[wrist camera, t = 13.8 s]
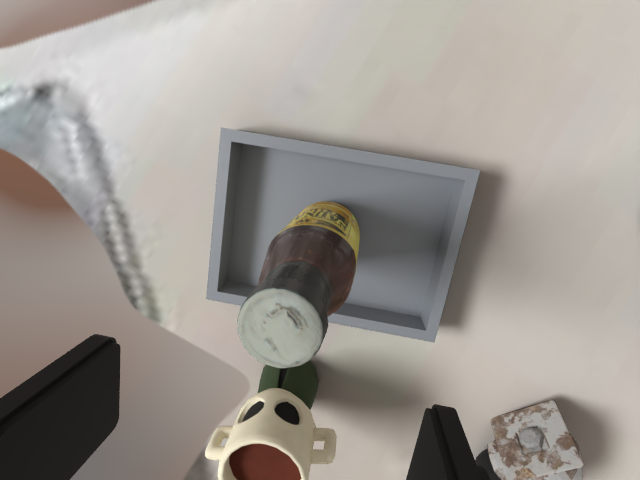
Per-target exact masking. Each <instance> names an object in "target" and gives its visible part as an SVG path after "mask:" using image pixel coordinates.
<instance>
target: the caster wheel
mask: <svg viewBox="0 0 640 480" xmlns="http://www.w3.org/2000/svg"><path fill="white" fill-rule="evenodd" d="M491 424H492V428H493V431H494V435H495V439H496V440H494V441H492V442H491V443H489V444H488V449H486V450H484V451H483V452H481V453H480V454H479V455H478V456H477V458H476V460H475V463H476V464H477V465H482V466H483V467H484V468H485V469H486V471H487V473H488V475H489V478H490V480H583V471H582V466H583V465H584V464H583V462H582V459H581V454H580V450H579V447H578V445H577V443H576V441H575V440H574V438H573V437H572V436H571V434H570V433H569V431H568V429H567V427H566V425H565V423H564V421H563V418H562V416H561V414H560V412H559V410H558V408H557V405H556V403H555V402H554V401H553V400H551V401H547V402H544V403H541V404H537V405H534V406H530V407H527V408H524V409H520V410H517V411H514V412H510V413H507V414H503V415H500V416H497V417H494V418H492V419H491Z"/></svg>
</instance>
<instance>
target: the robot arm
mask: <svg viewBox="0 0 640 480" xmlns="http://www.w3.org/2000/svg"><path fill="white" fill-rule="evenodd" d="M119 387H120V345H119V344H117V343H116V340H115V339H114V338H112V337H107V336H103V335H98V334H94V335H92V336H90V337H89V338H88V339H86V340H84V341H83V342H82V343H80V344H79V345H77V346H76V347H74V348H73V349H71V350H70V351H68V352H67V353H66V354H65V355H63V356H61V357H60V358H58V359H57V360H55V361H54V362H52V363H51V364H50V365H48V366H47V367H45V368H44V369H42V370H41V371H39V372H38V373H36V374H35V375H34V376H32V377H31V378H29V379H28V380H26V381H25V382H23V383H22V384H21V385H19V386H18V387H16V388H15V389H13V390H12V391H10V392H9V393H7V394H6V395H4V396H3V397H2V398H0V480H70V479H71V477H72V476H73V475H74V474H75V473H76V472H77V471H78V469H79V468H80V467H81V466H82V465H83V464H84V463H85V462H86V460H87V459H88V458H89V457H90V456H91V455H92V454H93V453H94V451H95V450H96V449H97V448H98V447H99V446H100V444H102V442H103V441H104V440H105V439H106V438H107V436H109V434H110V433H111V432H112V431H113V430H114V428H115V427H116V424H117V422H118V419H119V389H120V388H119ZM406 480H490V478H489V475H488V473H487V471H486V469H485V468H484V467H483V466H482V465H477V464H476V463H475V460H474V457H473V454H472V452H471V449H470V446H469V444H468V441H467V438H466V436H465V433H464V430H463V428H462V425H461V422H460V420H459V417H458V414H457V412H456V410H455V409H454V408H451V407H446V406H441V405H436V404H435V405H433V407H432V409H430V408H426V410H425V413H424V417H423V420H422V424H421V427H420V431H419V435H418V438H417V442H416V446H415V449H414V453H413V457H412V460H411V464H410V467H409V471H408V475H407V478H406Z"/></svg>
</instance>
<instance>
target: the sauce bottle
mask: <svg viewBox="0 0 640 480" xmlns="http://www.w3.org/2000/svg"><path fill="white" fill-rule="evenodd" d="M359 241H360V230H359V225H358V222H357V220H356V218H355V217H354V215H353V214H352V213H351V211H349V210H348V208H347V207H345V206H344V205H341V204H339V203H335V202H331V201H322V202H317V203H313V204H311V205H309V206H307V207H306V208H305V209H303V210H302V211H301V212H300V213H299V214H298V215H297V216H296V217H295V218H294V219H293V220H292V221H291V222H290V223H289V224H288V225H287V226H286V227H285V228H284V229H283V230H282V231H280V232H279V233H278V234H277V235H276V236H275V237H274V239H273V240H272V241H271V243H270V245H269V247H268V250H267V253H266V256H265V260H264V263H263V267H262V270H261V274H260V277H259V282H258V286H257V287H256V288H255V289H253V290H252V292H251V293H250V294H249V295H248V297H247V299H246V300H245V301H244V303H243V305H242V307H241V309H240V312H239V315H238V320H237V325H238V329H237V330H238V334H239V338H240V340H241V342H242V344H243V346H244V347H245V348H246V350H247V351H248V352H249V353H250V354H251V355H252V356H253V357H255V358H256V359H257V360H258V361H260V362H262V363H264V364H266V365H269V366H272V367H276V368H289V367H295V366H300V365H302V364H304V363H306V362H308V361H309V360H310V359H312V358H313V357H314V355H315V354H316V353H317V351H318V350H319V349H320V346H321V344H322V342H323V339H324V337H325V334H326V332H327V328H328V316H330V315H331V314H333V313H334V312H336V311H337V310H338V309H339V308H340V307H341V306H342V305H343V304H344V302H345V301H346V299H347V298H348V295H349V293H350V291H351V287H352V284H353V280H354V277H355V273H356V266H357V257H358V250H359Z"/></svg>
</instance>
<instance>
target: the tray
mask: <svg viewBox="0 0 640 480" xmlns="http://www.w3.org/2000/svg"><path fill="white" fill-rule="evenodd" d="M479 173H480V170H476V169H470V168H464V167H458V166H452V165H446V164H440V163H434V162H428V161H422V160H415V159H409V158H403V157H397V156H391V155H385V154H379V153H373V152H367V151H361V150H355V149H348V148H342V147H336V146H330V145H324V144H318V143H312V142H306V141H300V140H294V139H288V138H281V137H275V136H269V135H263V134H257V133H251V132H245V131H239V130H233V129H227V128H221V134H220V145H219V157H218V168H217V180H216V192H215V203H214V215H213V227H212V238H211V250H210V261H209V273H208V285H207V296H206V299H208V300H214V301H219V302H224V303H229V304H235V305H240V306H242V305H243V303H244V301H245V300H246V299H247V297H248V295H249V294H250V293H251V292H252V290H253V289H255V288H256V287H257V286H258V282H259V277H260V274H261V270H262V267H263V263H264V260H265V256H266V253H267V250H268V247H269V245H270V243H271V241H272V240H273V239H274V237H275V236H276V235H277V234H278V233H279V232H280V231H282V230H283V229H284V228H285V227H286V226H287V225H288V224H289V223H290V222H291V221H292V220H293V219H294V218H295V217H296V216H297V215H298V214H299V213H300V212H301V211H302V210H303V209H305V208H306V207H307V206H309V205H311V204H313V203H317V202H322V201H331V202H335V203H339V204H341V205H344V206H345V207H347V208H348V210H349V211H351V213H352V214H353V215H354V217H355V218H356V220H357V222H358V225H359V230H360V241H359V250H358V257H357V266H356V273H355V277H354V280H353V284H352V287H351V291H350V293H349V295H348V298H347V299H346V301H345V302H344V304H343V305H342V306H341V307H340V308H339V309H338V310H337V311H336V312H334V313H333V314H331V315H330V316H328V322H330V323H335V324H340V325H345V326H351V327H356V328H361V329H366V330H372V331H377V332H382V333H387V334H393V335H398V336H403V337H409V338H414V339H419V340H424V341H430V342H435V338H436V335H437V331H438V327H439V323H440V320H441V316H442V312H443V308H444V305H445V301H446V297H447V293H448V290H449V286H450V282H451V278H452V275H453V271H454V267H455V263H456V260H457V256H458V252H459V248H460V245H461V241H462V237H463V233H464V230H465V226H466V222H467V218H468V215H469V211H470V207H471V203H472V200H473V196H474V192H475V188H476V185H477V181H478V177H479Z"/></svg>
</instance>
